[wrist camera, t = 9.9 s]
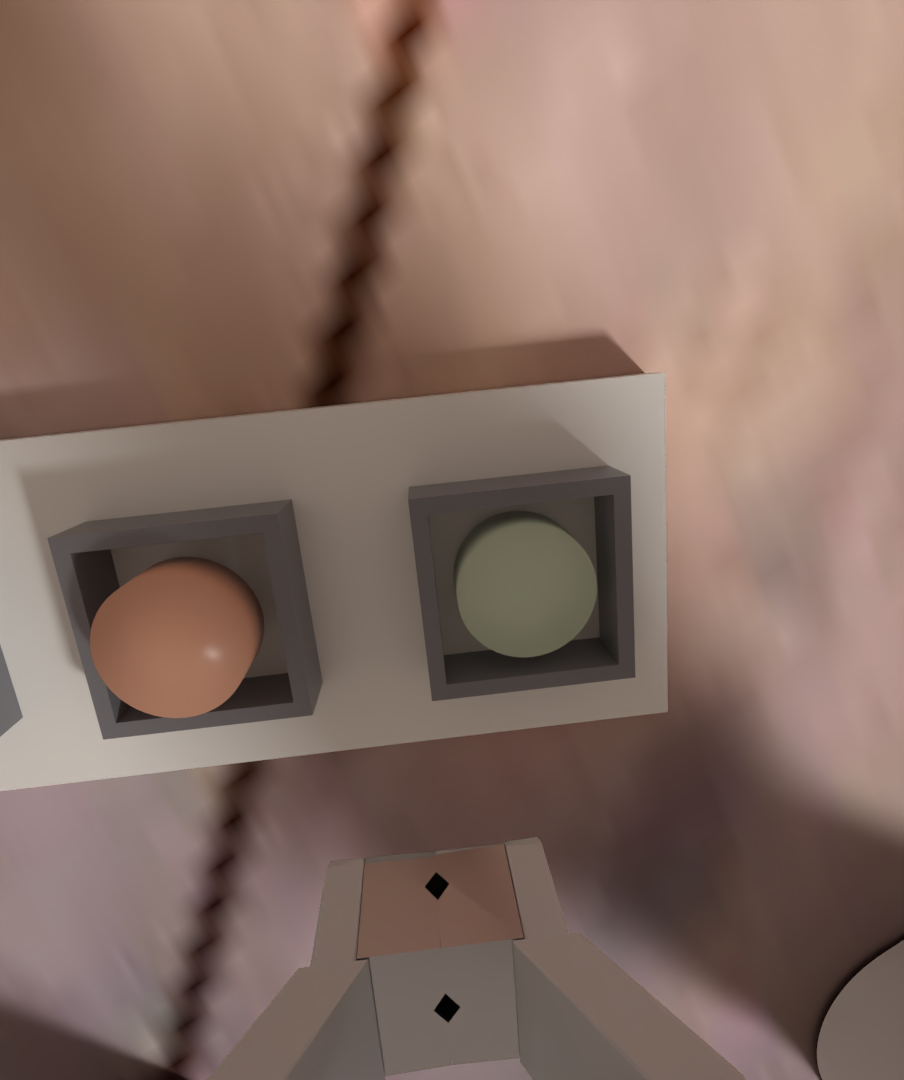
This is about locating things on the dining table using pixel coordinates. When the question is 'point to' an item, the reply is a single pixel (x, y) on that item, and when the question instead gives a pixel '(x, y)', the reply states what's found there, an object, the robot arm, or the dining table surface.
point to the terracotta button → (177, 637)
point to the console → (332, 571)
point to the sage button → (523, 584)
